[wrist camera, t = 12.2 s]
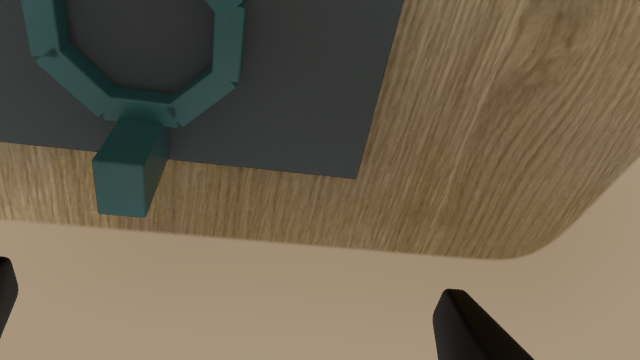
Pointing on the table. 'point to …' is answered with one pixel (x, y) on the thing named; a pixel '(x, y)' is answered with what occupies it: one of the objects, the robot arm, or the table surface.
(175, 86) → the mat
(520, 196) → the table surface
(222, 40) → the ring teal
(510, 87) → the table surface
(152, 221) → the table surface
